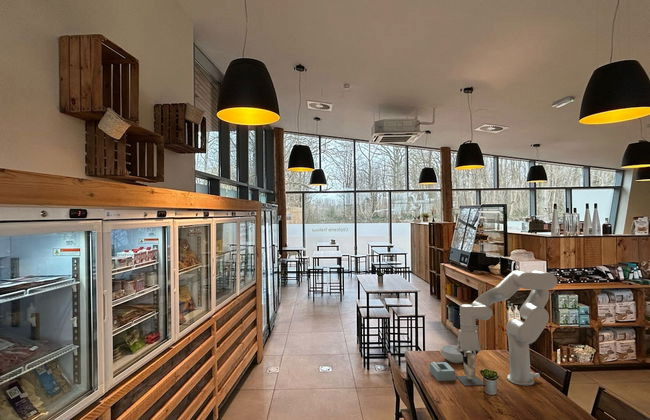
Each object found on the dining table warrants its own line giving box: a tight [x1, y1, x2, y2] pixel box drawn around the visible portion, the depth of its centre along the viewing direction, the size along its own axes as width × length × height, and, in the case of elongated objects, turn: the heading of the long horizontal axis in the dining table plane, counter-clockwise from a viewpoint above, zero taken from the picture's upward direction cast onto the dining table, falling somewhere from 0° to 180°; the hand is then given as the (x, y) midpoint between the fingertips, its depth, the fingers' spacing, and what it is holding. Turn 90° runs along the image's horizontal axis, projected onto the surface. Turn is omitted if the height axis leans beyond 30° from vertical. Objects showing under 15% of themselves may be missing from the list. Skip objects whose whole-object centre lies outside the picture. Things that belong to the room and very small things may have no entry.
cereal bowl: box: [440, 344, 464, 364], centre depth 214 cm, size 17×17×7 cm
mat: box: [455, 375, 484, 387], centre depth 186 cm, size 11×11×1 cm
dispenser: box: [429, 361, 456, 382], centre depth 194 cm, size 9×12×6 cm
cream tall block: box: [463, 351, 477, 379], centre depth 186 cm, size 3×6×12 cm, turn 3°
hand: (469, 363), depth 186 cm, fingers closed on cream tall block, 3 cm apart
